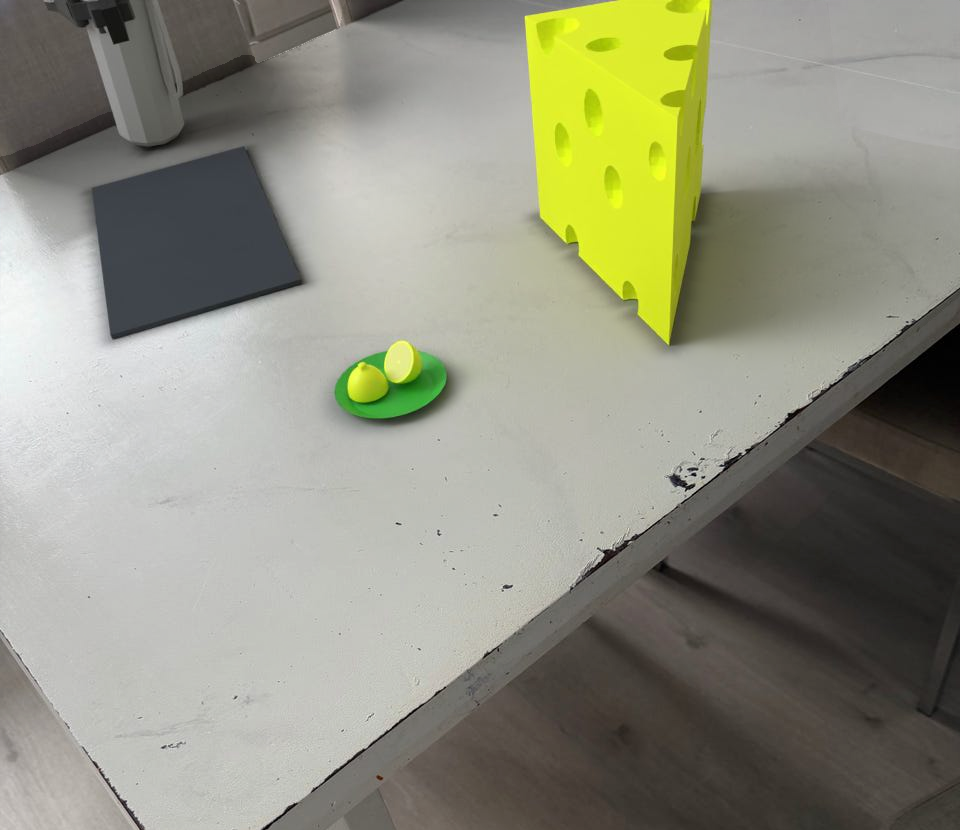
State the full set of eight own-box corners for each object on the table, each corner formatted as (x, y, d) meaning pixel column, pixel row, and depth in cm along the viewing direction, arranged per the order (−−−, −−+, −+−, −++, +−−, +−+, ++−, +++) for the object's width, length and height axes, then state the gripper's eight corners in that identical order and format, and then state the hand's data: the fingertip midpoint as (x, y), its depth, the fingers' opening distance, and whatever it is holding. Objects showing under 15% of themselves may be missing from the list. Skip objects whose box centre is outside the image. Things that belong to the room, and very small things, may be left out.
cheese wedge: (805, 215, 72) (838, -4, 60) (668, 345, 63) (677, 118, 52) (601, 170, 81) (597, -27, 69) (458, 278, 72) (426, 73, 61)
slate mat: (93, 191, 92) (91, 187, 92) (245, 149, 94) (243, 145, 94) (112, 339, 73) (110, 334, 73) (302, 283, 75) (300, 279, 75)
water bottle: (102, 141, 97) (4, -155, 76) (145, 105, 101) (64, -186, 80) (174, 163, 95) (95, -133, 74) (216, 127, 99) (152, -165, 78)
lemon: (401, 344, 68) (393, 309, 65) (471, 384, 63) (465, 349, 61) (314, 395, 65) (303, 361, 63) (381, 441, 60) (372, 406, 58)
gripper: (172, -11, 100) (200, 54, 85) (55, 19, 98) (63, 90, 84) (144, -96, 94) (169, -43, 79) (20, -66, 93) (21, -6, 78)
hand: (115, 25), depth 81 cm, fingers closed
